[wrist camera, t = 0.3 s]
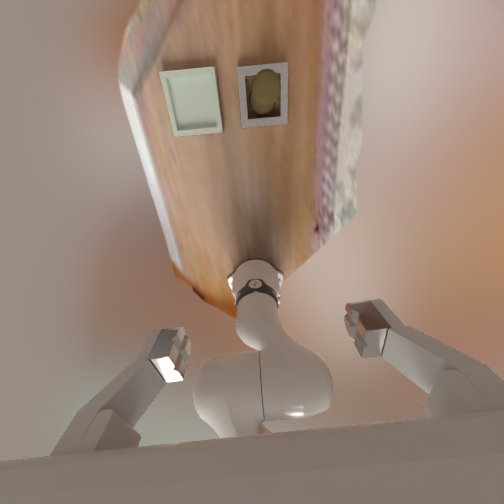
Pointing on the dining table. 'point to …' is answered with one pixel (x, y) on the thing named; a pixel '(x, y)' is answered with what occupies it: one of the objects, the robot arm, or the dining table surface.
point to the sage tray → (192, 101)
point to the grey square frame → (282, 72)
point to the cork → (264, 92)
